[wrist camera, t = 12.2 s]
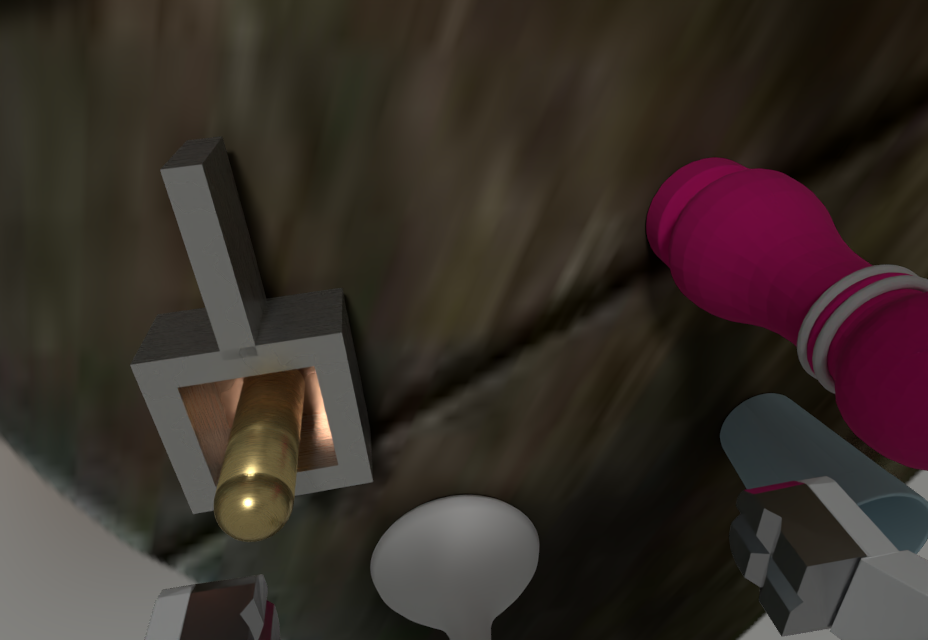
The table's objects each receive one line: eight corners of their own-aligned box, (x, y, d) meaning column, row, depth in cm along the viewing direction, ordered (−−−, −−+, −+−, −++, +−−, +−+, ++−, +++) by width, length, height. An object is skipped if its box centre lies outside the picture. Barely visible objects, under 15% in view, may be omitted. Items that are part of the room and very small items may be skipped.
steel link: (95, 151, 27) (52, 182, 23) (309, 126, 27) (303, 151, 24) (210, 453, 35) (192, 513, 31) (370, 426, 36) (373, 482, 32)
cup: (726, 376, 40) (837, 495, 31) (828, 379, 42) (961, 492, 33) (688, 467, 43) (778, 597, 34) (784, 466, 45) (893, 590, 36)
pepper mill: (639, 288, 36) (914, 588, 18) (632, 165, 32) (968, 397, 15) (759, 257, 36) (1140, 523, 19) (766, 132, 32) (1248, 320, 15)
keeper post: (178, 323, 32) (108, 474, 22) (336, 300, 33) (331, 437, 23) (221, 442, 36) (177, 613, 26) (360, 419, 37) (365, 577, 27)
